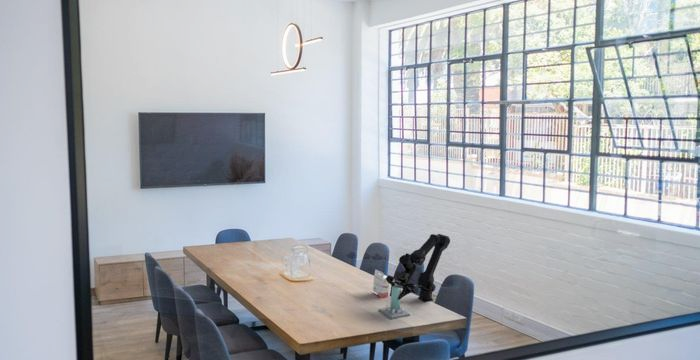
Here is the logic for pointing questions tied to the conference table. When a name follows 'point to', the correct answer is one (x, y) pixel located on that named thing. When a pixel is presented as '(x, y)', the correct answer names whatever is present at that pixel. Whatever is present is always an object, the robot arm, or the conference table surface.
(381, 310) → the pin board
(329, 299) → the conference table surface
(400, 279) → the robot arm
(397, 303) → the rounded cone
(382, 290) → the ink cartridge box
